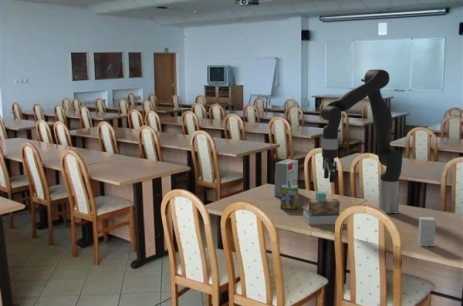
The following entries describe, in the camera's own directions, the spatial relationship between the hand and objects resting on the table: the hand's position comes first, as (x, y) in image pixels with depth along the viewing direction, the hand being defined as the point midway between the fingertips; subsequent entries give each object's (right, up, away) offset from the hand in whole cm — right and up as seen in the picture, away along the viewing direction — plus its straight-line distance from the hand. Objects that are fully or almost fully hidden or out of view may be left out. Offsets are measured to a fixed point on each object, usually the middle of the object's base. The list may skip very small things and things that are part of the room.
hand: (329, 180), depth 246 cm
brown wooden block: (-2, -16, +3) cm, 16 cm away
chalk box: (-16, -16, +28) cm, 36 cm away
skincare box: (+36, -27, -28) cm, 53 cm away
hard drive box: (-15, -11, +53) cm, 57 cm away
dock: (-3, -20, +3) cm, 21 cm away
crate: (-4, -10, +1) cm, 11 cm away
